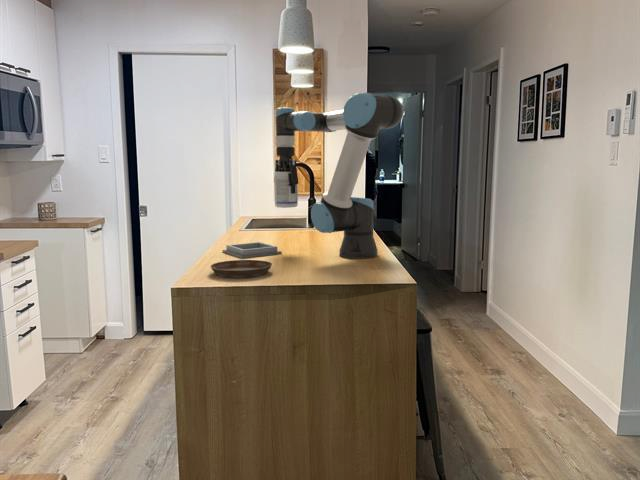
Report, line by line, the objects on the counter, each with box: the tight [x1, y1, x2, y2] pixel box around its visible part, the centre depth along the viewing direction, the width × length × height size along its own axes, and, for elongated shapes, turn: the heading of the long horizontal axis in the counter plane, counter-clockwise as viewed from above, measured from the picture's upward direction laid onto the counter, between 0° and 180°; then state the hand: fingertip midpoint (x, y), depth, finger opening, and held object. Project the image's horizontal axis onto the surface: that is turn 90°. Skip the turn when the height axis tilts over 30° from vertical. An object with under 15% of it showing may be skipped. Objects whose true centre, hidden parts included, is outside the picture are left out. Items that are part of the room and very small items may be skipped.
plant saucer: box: [210, 259, 273, 279], centre depth 191 cm, size 21×21×3 cm
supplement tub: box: [273, 171, 299, 209], centre depth 235 cm, size 10×10×15 cm
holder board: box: [222, 241, 283, 260], centre depth 230 cm, size 18×18×3 cm
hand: (286, 200), depth 235 cm, fingers closed on supplement tub, 10 cm apart
